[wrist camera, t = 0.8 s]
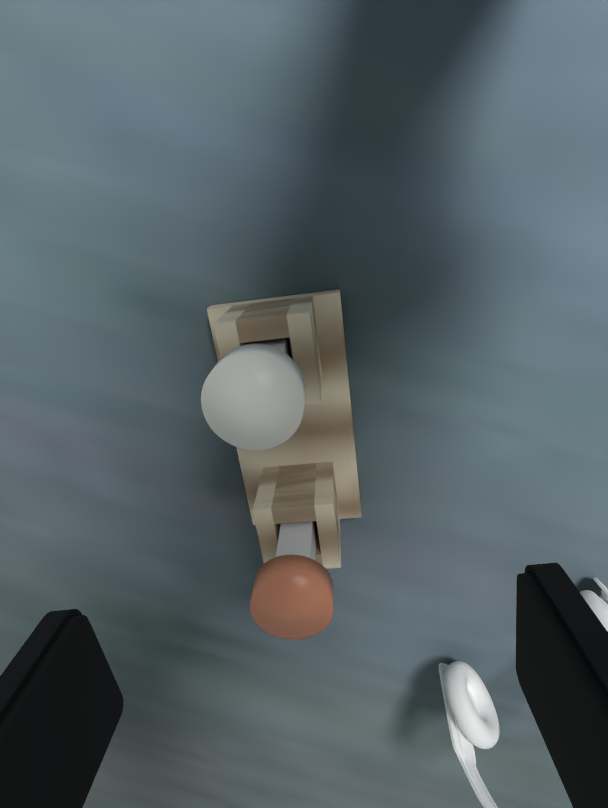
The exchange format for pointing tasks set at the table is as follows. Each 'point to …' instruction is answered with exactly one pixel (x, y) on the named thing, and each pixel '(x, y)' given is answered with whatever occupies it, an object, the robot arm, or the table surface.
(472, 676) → the headset
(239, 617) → the table surface
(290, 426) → the plug
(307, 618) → the terracotta plug
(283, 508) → the block
